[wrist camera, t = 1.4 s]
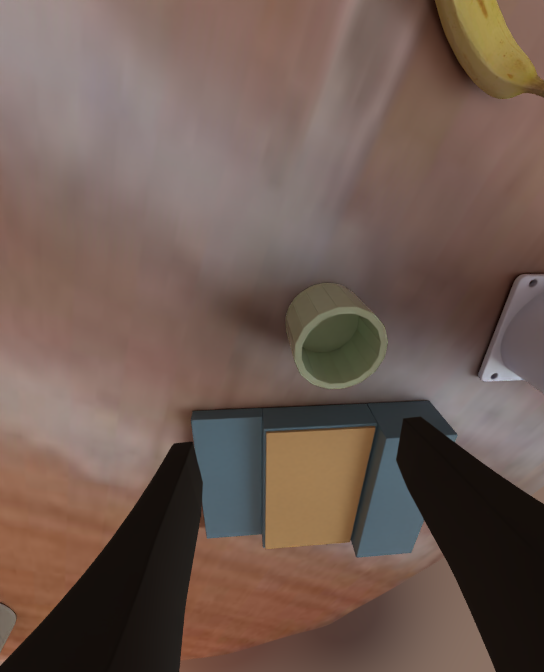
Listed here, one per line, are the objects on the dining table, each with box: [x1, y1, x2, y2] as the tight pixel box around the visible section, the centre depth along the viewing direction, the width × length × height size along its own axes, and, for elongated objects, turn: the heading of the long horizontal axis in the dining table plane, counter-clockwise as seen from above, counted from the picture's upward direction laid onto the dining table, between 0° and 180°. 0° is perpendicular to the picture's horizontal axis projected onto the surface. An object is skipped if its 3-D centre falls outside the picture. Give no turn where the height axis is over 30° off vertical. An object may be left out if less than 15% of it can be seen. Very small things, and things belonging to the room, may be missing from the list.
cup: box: [285, 283, 388, 389], centre depth 18 cm, size 5×5×4 cm
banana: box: [435, 0, 544, 99], centre depth 12 cm, size 8×2×4 cm, turn 44°
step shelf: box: [191, 401, 457, 557], centre depth 25 cm, size 18×14×4 cm
